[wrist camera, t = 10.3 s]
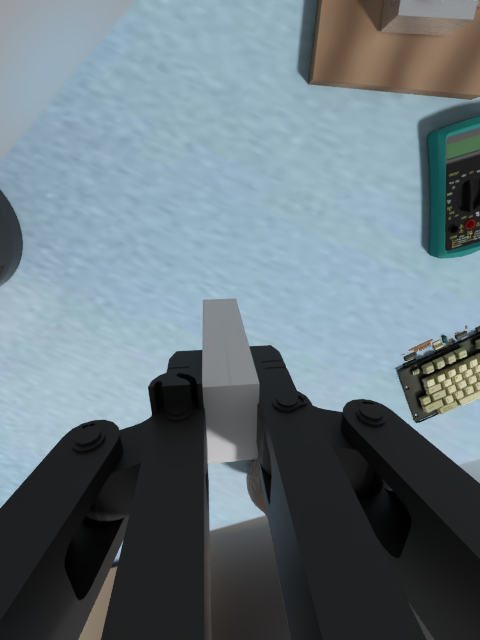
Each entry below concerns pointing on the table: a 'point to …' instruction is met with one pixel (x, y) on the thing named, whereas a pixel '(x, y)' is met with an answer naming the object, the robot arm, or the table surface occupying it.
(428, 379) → the keyboard
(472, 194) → the digital multimeter
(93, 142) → the table surface
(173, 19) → the table surface
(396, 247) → the table surface
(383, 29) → the grey frame piece
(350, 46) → the board
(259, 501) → the vase
